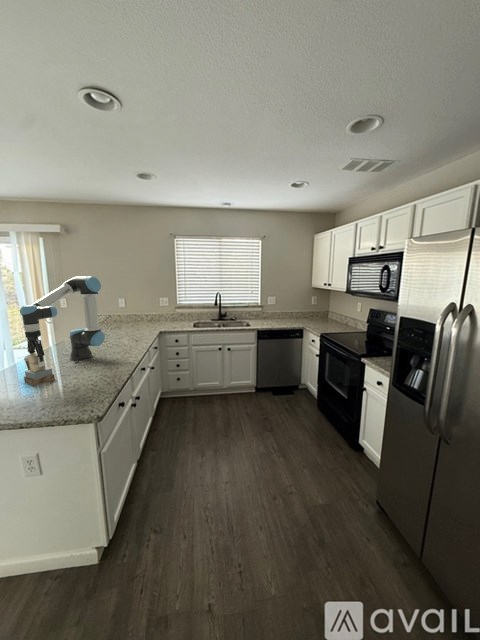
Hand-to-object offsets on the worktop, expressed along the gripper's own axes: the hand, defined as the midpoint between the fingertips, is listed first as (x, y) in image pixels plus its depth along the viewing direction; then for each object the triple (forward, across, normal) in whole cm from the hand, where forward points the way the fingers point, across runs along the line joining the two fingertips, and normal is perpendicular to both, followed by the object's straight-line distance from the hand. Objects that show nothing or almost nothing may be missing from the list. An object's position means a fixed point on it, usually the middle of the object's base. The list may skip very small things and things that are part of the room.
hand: (37, 364), depth 163 cm
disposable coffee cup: (+11, -19, +4) cm, 22 cm away
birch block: (+3, 0, 0) cm, 3 cm away
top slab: (+7, 0, 0) cm, 7 cm away
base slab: (+11, -1, 0) cm, 11 cm away
